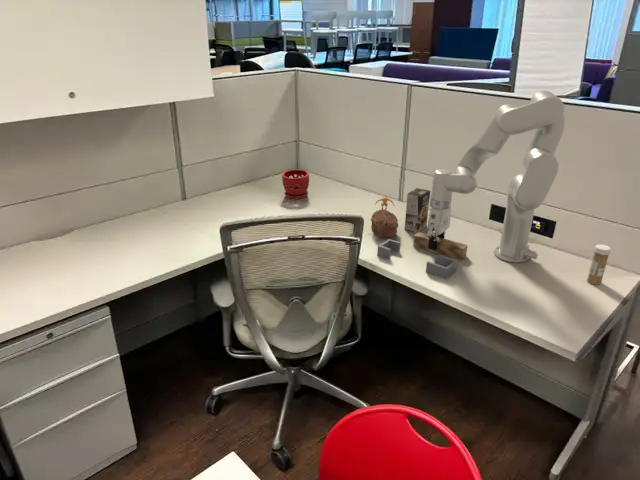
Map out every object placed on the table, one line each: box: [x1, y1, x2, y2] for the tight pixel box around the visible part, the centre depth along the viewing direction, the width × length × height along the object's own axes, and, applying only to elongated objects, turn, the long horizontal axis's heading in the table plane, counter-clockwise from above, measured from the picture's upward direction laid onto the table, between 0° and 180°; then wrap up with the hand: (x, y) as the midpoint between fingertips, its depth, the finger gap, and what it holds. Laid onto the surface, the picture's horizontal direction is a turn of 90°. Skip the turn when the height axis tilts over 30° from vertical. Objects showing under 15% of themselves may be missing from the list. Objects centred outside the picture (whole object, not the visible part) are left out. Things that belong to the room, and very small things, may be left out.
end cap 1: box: [376, 238, 401, 260], centre depth 187 cm, size 5×8×4 cm, turn 141°
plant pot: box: [281, 169, 310, 200], centre depth 241 cm, size 13×13×12 cm
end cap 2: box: [425, 253, 459, 280], centre depth 174 cm, size 8×8×4 cm
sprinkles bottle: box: [586, 243, 612, 286], centre depth 165 cm, size 5×5×13 cm
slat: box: [412, 231, 468, 261], centre depth 189 cm, size 20×4×5 cm, turn 53°
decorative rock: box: [370, 208, 399, 238], centre depth 202 cm, size 13×11×10 cm
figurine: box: [374, 194, 395, 210], centre depth 214 cm, size 8×6×12 cm
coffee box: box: [404, 187, 431, 233], centre depth 206 cm, size 9×6×16 cm
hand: (435, 246), depth 190 cm, fingers open, 5 cm apart
